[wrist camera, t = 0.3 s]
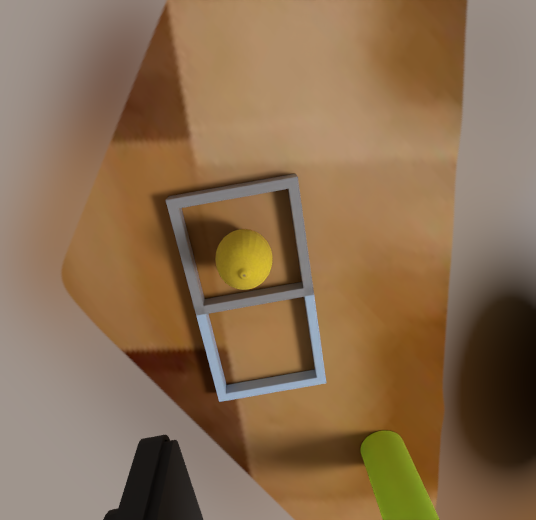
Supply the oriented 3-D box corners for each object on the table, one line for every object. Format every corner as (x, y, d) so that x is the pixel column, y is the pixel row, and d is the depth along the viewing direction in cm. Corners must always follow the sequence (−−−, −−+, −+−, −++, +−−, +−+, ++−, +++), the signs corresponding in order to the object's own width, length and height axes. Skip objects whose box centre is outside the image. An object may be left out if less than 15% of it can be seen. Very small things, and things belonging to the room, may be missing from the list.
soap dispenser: (407, 423, 55) (491, 592, 36) (400, 462, 57) (475, 638, 39) (363, 424, 54) (426, 595, 36) (358, 463, 57) (414, 642, 38)
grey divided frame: (168, 196, 42) (165, 200, 40) (295, 173, 42) (297, 176, 40) (220, 392, 51) (219, 401, 50) (323, 374, 51) (326, 383, 50)
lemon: (207, 250, 44) (200, 281, 37) (238, 209, 43) (237, 234, 35) (249, 277, 46) (250, 313, 38) (280, 239, 44) (288, 269, 37)
